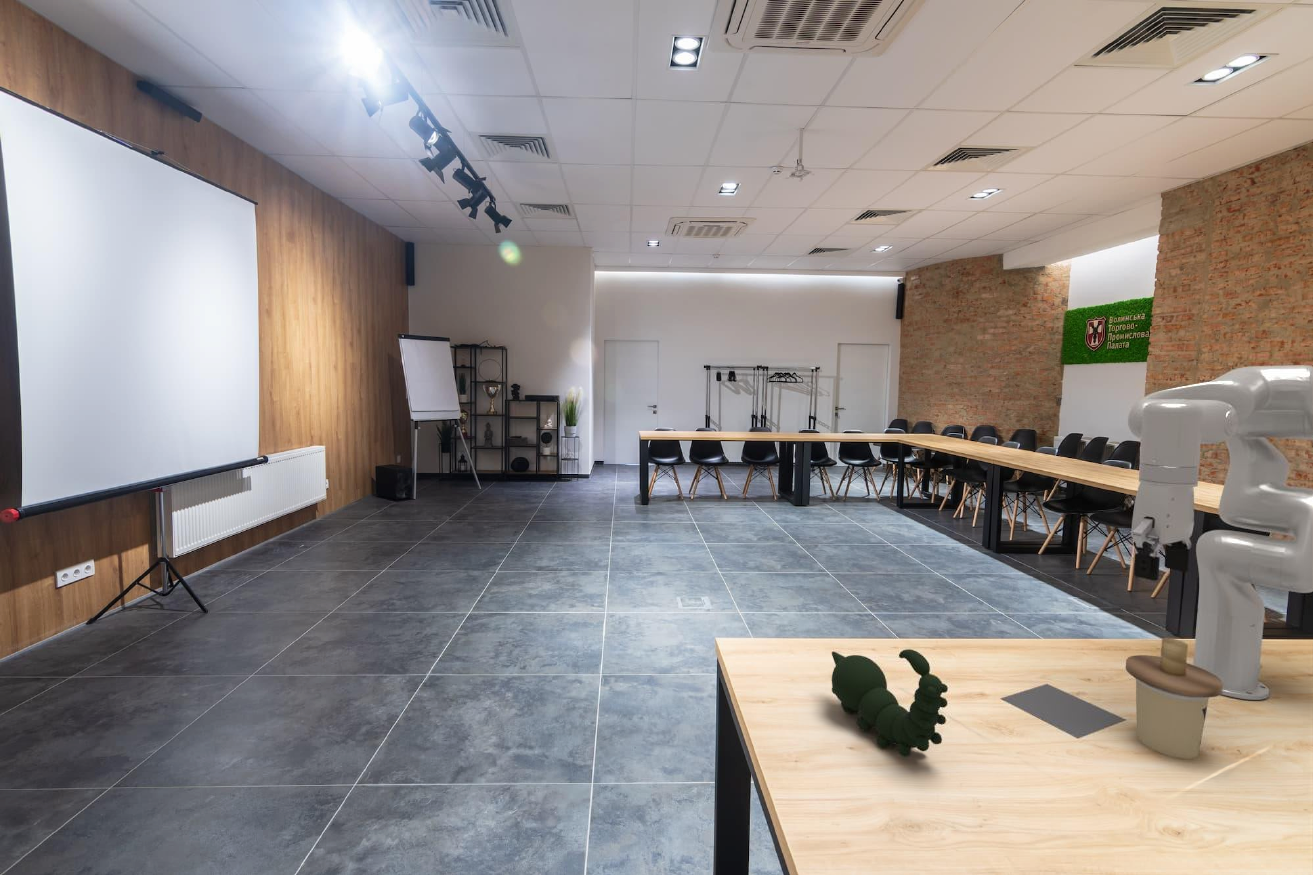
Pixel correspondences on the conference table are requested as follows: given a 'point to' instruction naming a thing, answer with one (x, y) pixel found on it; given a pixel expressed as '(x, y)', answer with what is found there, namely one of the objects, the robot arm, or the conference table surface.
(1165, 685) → the lid
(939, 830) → the conference table surface
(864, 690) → the toy figurine
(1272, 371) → the robot arm
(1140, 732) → the coffee cup
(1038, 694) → the mat
